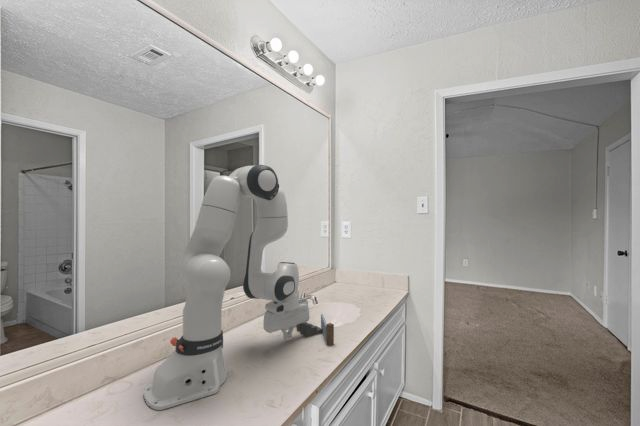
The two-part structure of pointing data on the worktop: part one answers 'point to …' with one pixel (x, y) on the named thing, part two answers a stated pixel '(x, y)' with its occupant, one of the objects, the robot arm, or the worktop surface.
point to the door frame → (328, 333)
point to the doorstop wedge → (309, 330)
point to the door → (323, 325)
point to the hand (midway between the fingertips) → (287, 337)
